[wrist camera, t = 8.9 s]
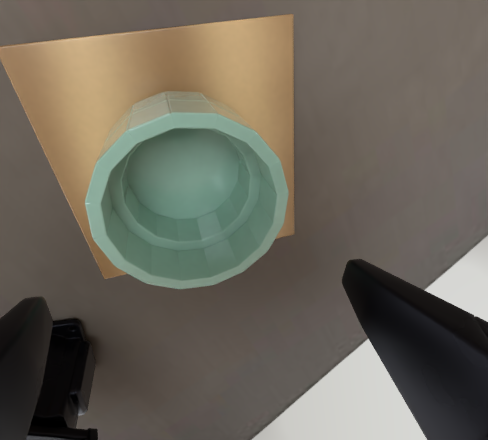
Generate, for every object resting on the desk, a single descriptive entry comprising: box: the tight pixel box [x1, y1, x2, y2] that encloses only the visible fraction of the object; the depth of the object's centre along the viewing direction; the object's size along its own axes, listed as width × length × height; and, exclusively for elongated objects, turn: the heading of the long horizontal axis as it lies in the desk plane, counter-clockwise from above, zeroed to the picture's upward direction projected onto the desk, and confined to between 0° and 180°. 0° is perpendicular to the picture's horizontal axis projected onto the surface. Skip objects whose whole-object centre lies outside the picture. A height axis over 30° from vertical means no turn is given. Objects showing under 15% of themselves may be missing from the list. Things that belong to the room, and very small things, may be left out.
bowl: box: [85, 91, 289, 289], centre depth 13 cm, size 7×7×5 cm
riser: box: [0, 14, 294, 279], centre depth 17 cm, size 12×12×3 cm
